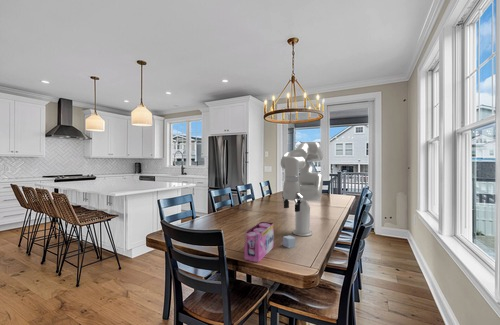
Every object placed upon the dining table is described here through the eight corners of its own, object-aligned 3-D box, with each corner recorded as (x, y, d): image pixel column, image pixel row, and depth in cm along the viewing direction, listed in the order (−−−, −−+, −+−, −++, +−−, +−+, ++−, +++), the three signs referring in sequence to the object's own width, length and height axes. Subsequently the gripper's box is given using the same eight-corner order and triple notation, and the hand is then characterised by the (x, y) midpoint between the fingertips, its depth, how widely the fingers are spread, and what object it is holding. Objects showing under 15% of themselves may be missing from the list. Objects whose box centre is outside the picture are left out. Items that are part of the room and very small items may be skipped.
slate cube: (282, 245, 137) (282, 236, 137) (289, 243, 139) (289, 235, 139) (288, 248, 133) (288, 239, 132) (295, 246, 135) (295, 237, 135)
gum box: (257, 264, 113) (257, 235, 112) (242, 261, 116) (242, 233, 116) (273, 247, 135) (274, 222, 134) (260, 244, 138) (260, 221, 138)
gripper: (277, 178, 139) (277, 207, 139) (296, 180, 123) (296, 213, 124) (287, 177, 142) (287, 206, 143) (307, 180, 127) (307, 212, 128)
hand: (291, 209), depth 133 cm, fingers open, 9 cm apart
